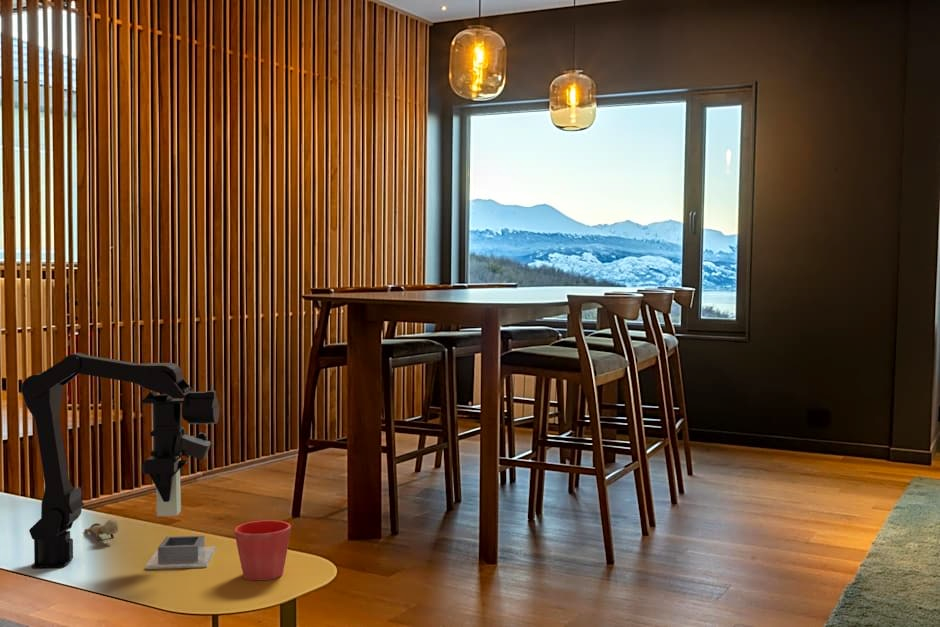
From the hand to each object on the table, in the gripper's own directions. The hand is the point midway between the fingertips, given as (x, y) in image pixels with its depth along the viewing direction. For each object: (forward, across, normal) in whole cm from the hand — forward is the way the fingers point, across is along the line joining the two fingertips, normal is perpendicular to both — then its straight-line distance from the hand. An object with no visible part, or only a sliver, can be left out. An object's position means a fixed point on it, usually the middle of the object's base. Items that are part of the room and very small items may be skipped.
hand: (168, 499), depth 193 cm
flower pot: (+14, -10, -20) cm, 26 cm away
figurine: (+13, +20, +19) cm, 31 cm away
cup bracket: (+13, +2, -2) cm, 14 cm away
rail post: (+3, 0, 0) cm, 3 cm away
